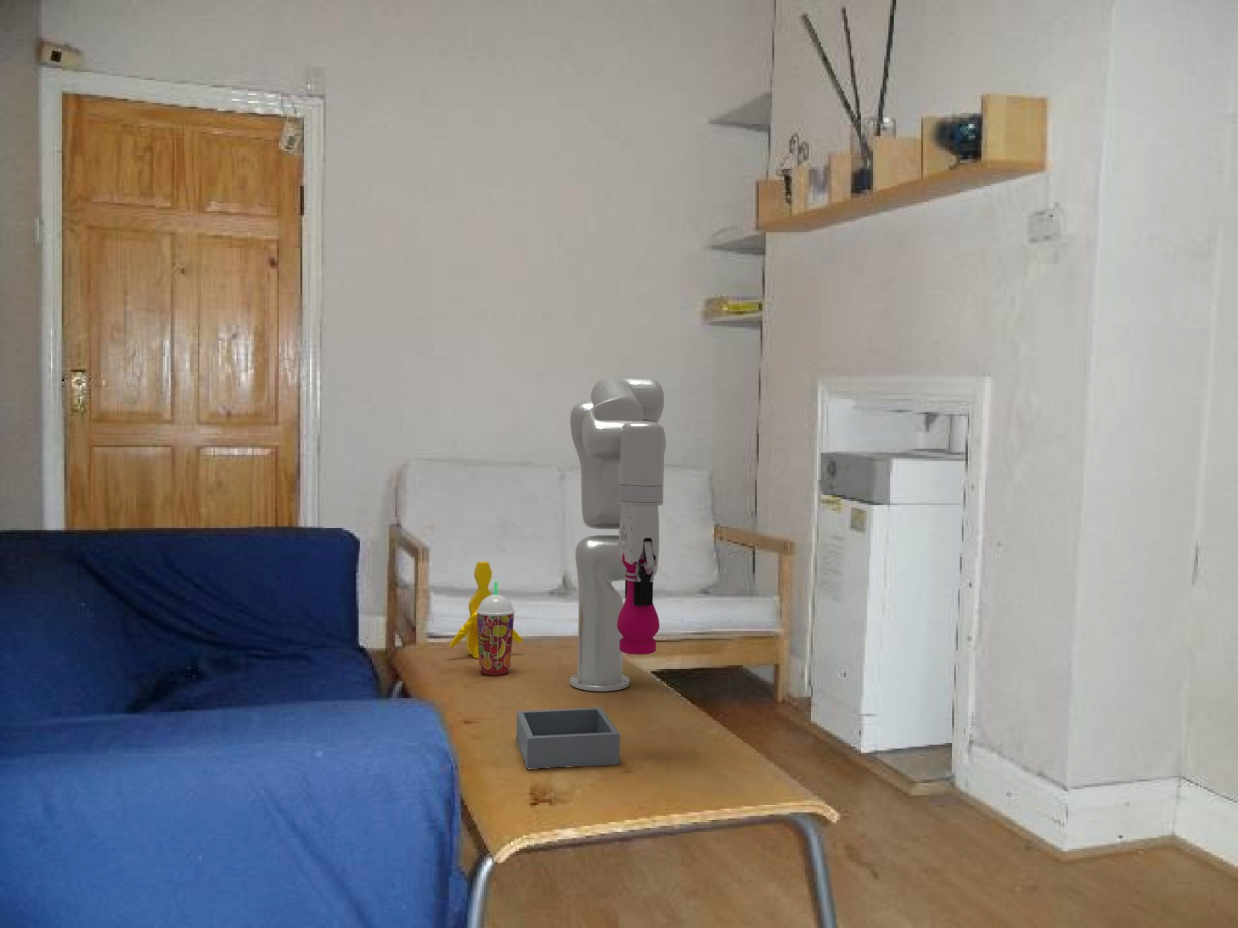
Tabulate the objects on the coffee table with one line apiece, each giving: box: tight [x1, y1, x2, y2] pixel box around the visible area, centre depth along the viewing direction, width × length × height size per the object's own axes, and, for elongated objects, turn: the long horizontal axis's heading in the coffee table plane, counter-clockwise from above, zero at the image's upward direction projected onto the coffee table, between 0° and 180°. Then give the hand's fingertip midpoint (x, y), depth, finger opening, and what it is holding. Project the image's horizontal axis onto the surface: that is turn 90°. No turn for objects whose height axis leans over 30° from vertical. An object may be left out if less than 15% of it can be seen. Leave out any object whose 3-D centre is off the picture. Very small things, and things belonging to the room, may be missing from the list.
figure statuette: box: [448, 561, 524, 659], centre depth 231 cm, size 18×8×22 cm, turn 113°
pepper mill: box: [617, 551, 660, 656], centre depth 166 cm, size 7×7×20 cm
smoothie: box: [476, 581, 515, 676], centre depth 215 cm, size 8×8×20 cm
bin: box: [515, 707, 621, 769], centre depth 164 cm, size 15×15×5 cm
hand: (638, 601), depth 166 cm, fingers closed on pepper mill, 5 cm apart
